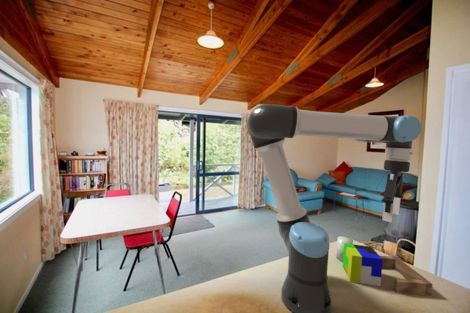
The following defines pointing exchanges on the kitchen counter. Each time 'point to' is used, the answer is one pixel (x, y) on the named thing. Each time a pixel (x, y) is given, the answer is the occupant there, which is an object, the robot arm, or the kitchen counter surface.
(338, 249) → the cream egg shape
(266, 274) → the kitchen counter surface
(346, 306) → the kitchen counter surface
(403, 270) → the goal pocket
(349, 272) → the puzzle toy
